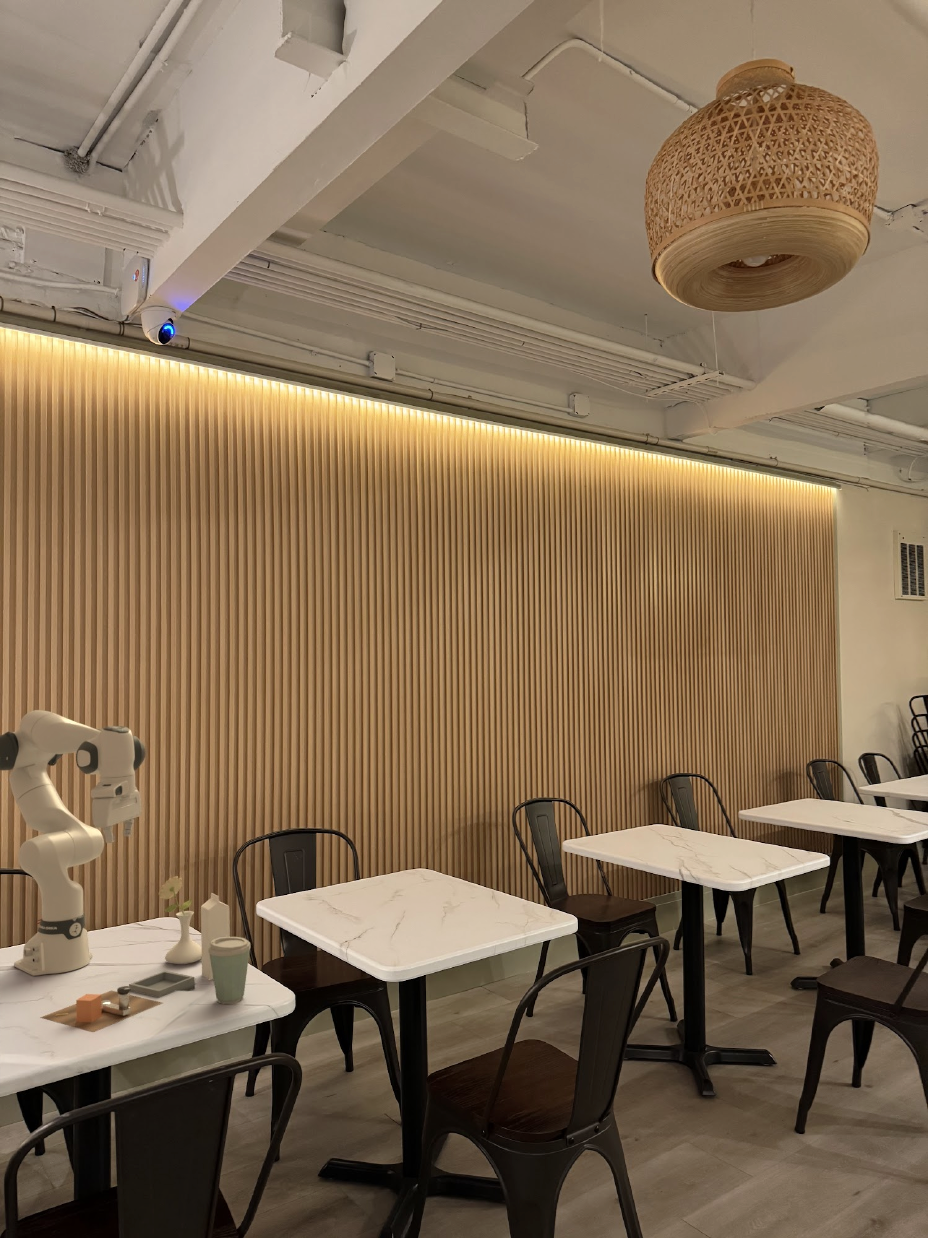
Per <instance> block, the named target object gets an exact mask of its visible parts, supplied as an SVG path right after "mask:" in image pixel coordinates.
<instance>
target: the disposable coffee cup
mask: <svg viewBox="0 0 928 1238" xmlns="http://www.w3.org/2000/svg"><path fill="white" fill-rule="evenodd" d="M251 945H252V944H251V942H250V941H249V940H248V939H246V938H245V937H239V936H230V937H221V938H216V939H214V940H212V941H211V945H210V947H209V951H208V953H209V955H210V961H211V967H212V973H213V984H214V991H215V996H216V999H217V1002H218V1003H219V1004H224V1005H230V1004H231V1005H232V1004H235V1003H239V1002H241V1001H242V1000H243V999H244V995H245V990H246V982H247V974H248V966H249V958H250V957H249V956H250V952H251V951H250V949H251Z"/></svg>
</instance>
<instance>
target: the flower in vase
mask: <svg viewBox="0 0 928 1238" xmlns="http://www.w3.org/2000/svg"><path fill="white" fill-rule="evenodd" d="M182 887H183V879H182V877H179V876H178V875H176V876H173V877H169V878H168V880H166V881H165V882H164V884H162V885H161V887H160V889H159V891H158V895H159V898H158V899H161V900H163V899H164V900H169V899H171V898H173V897H175V901H176V903H175V904H174V903H173V904H170V905H168V906H167V907H166V909H164V911H163V912H164V913H172V912H174V911H175V910H176V909H177V908H178V909H180V912H176V913H175V916H176V917H177V918H178V920H179V924H180V939H179V940H178V942H177V943H175V945H174V946H172V947H171V948H170V950H168V952H167V953H166V954H165V956H164V959H165V961H166V962H167V963H169V964H173V965H185V964H192V963H196V962H198V961H200V960H202V945H200V944H199V943H197V942H196V941H193V939H192V938H191V936H190V923H191V919H192V916H193V915H194V914H195V912H194V911H191V910H186V909H188V908H190V907H191V906H192V898H189V899H188V900H187V901H185V902H183V903H182V904H181V906H180V905H179V902H178V898H177V894H178V892H179V891H180V890H181V888H182ZM184 910H185V911H184Z"/></svg>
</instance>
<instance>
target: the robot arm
mask: <svg viewBox="0 0 928 1238" xmlns="http://www.w3.org/2000/svg"><path fill="white" fill-rule="evenodd" d="M73 753H76V754H75V761H76V766H77V767H78V769H79V770H80V772H82V773H83V774H85V775H92V776H93V775H99V782H98V783H97V785H95V786H94V787H92V789H91V790H90V798H92V803H91V813H92V814H91V816H92V818H91V819H92V824H93V826H91V825H88V824H86V823H84V822H82V820H80V819H79V818H77V817H76V816H75V815H74V814H72V812H70V810H69V809H68V808H67V807H66V806H65V804H64V802H63V801H62V799H61V797H60V795H59V793H58V791H57V789H56V787H55V785H54V784H53V781H52V780H51V778H50V777H49V774H48V772H47V771H48V769H47V768H48V766H50V767H51V766H52V767H53V766H55V765H56V764H57V763H58V760H59V759H61V758H62V756H63V755H64V754H65V755H66V754H73ZM145 758H146V748H145V745H144V743H143V742H142V740H140V739H139V737H137V736H136V735H134V734H133V733H132V730H131V729H130V728H129V727H127V726H121V725H119V726H118V725H109V726H105V727H102V728H101V729H99V728H95V727H92V726H89V725H86V724H83V723H80V722H77V721H74V720H72V719H70V718H67V717H65V716H62V715H61V714H58V713H54V712H53V711H48V710H42V709H35V710H32V711H31V710H30V711H28V712H27V713H26V714H25V715H23V717H22V718H21V720H20V722H19V727H18V730H16V731H12V732H10V731H6V732H4V733H3V734H1V735H0V771H10V773H9V777H8V779H9V784H10V789H11V793H12V795H13V797H14V801H15V803H16V805H17V807H18V808H19V811H20V813H21V816H22V817H23V820H24V822H25V824H26V825H27V826H28V827H29V828H30V829H31V830H35V831H37V832H40V833H42V834H39V835H37V836H35V837H32V838H30V839H27V840H25V841H24V842H23V843H22V844H21V845H20V848H19V850H18V854H17V862H18V864H19V866H20V868H21V870H23V871H24V872H25V873H27V874H28V875H30V876H31V877H32V878H33V879H34V880H35V882H36V884H37V885H38V887H39V891H40V897H41V919H37V920H36V921H37V923H36V925H38V928H37V933H35V934H34V935H33V936H32V937H31V938H30V939H29V940H28V941H27V942H26V943H25V944H24V946H23V951H22V958H20V959H18V960H16V961H15V962H14V963H13V966H14V967H15V968H16V969H18V970H20V971H23V972H24V973H26V974H29V975H31V976H41V975H48V974H50V975H51V974H60V973H61V974H62V973H66V972H71V971H74V970H75V971H76V970H77V969H81V968H83V967H85V966H87V965H88V964H90V962H91V959H93V953H92V952H91V951H90V945H89V944H90V943H89V935H88V931H87V929H86V928H85V927H86V915H85V913H84V889H83V887H82V885H81V884H80V883H78V882H77V881H74V880H72V879H71V878H70V875H69V872H68V868H72V867H76V866H81V865H84V864H87V863H88V862H91V861H93V860H95V859H97V858H99V857H100V856H101V854H102V853H103V852H104V851H103V850H104V847H105V843H106V844H112V843H114V842H115V838H116V837H115V836H116V835H114V834H113V830H114V826H115V825H117V824H121V823H124V828H123V829H122V836H123V837H131V836H132V834H133V833H132V829H133V827H134V823H135V818H138V817H140V816H141V815H142V809H143V808H142V799H141V793H140V791H139V790H138V787H137V786H136V772H135V771H137V770H138V769H139V768H140V767H141V765H142V764H143V763H144V760H145ZM99 828H102V832H103V834H102V832H101V831H100V830H99ZM103 835H104V836H105V840H104V836H103Z"/></svg>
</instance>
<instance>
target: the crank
mask: <svg viewBox="0 0 928 1238" xmlns="http://www.w3.org/2000/svg"><path fill="white" fill-rule="evenodd" d="M116 989H117V991H116V992H117V993H118V994H119V1005H117V1004H113V1003H111V1001H109V1000H103V1001H101V1002H102V1011H106V1012H110V1013H114V1014H118V1015H122V1016H124V1015H127V1014H129V1013H130V1008H129V995H130V993H131V992H132V991H131V987H130V986H129V985H125V986H120V987H118V988H116Z"/></svg>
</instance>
